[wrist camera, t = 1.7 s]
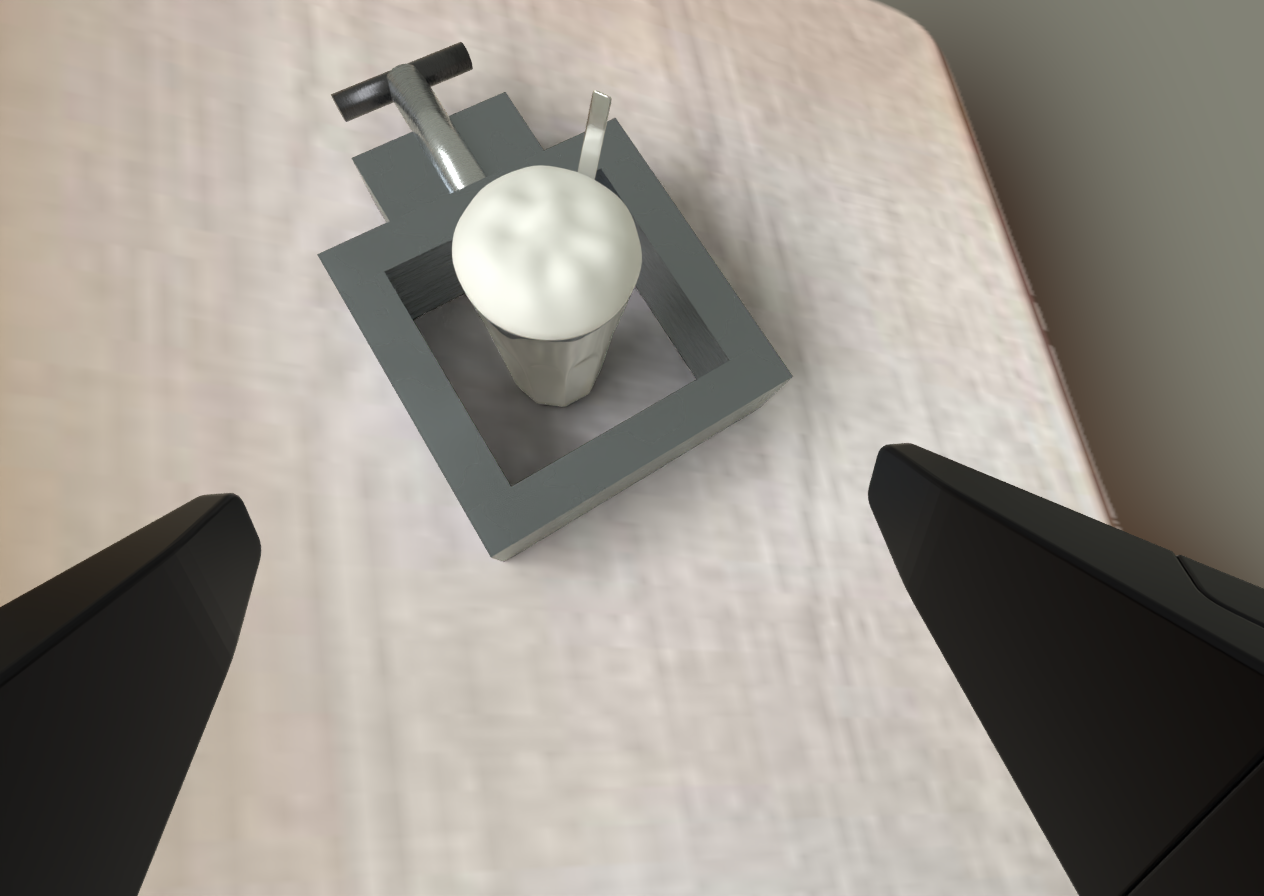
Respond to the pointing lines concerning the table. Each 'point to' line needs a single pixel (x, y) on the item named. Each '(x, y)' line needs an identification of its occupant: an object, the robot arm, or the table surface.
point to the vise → (425, 278)
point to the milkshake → (550, 268)
